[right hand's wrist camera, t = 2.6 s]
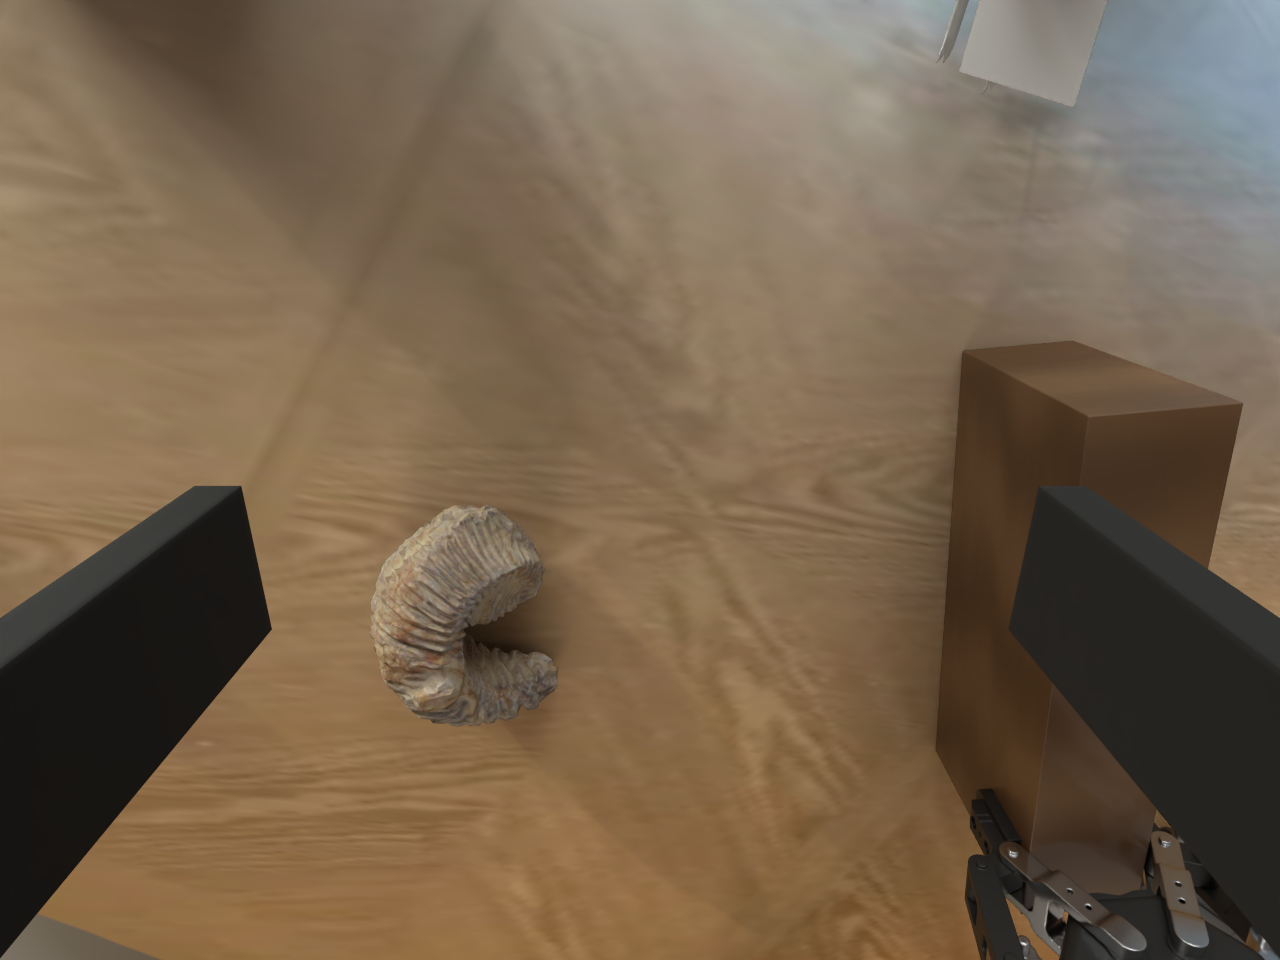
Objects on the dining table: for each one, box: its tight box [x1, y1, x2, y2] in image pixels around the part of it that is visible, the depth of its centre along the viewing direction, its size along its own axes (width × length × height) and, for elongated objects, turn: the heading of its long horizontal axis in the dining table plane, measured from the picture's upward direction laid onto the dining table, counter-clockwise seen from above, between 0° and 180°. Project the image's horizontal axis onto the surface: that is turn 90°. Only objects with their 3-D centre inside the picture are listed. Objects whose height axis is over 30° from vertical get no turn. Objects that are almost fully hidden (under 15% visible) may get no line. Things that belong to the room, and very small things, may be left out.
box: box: [936, 341, 1243, 914], centre depth 38 cm, size 26×6×12 cm, turn 5°
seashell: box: [369, 504, 558, 726], centre depth 41 cm, size 14×10×10 cm
